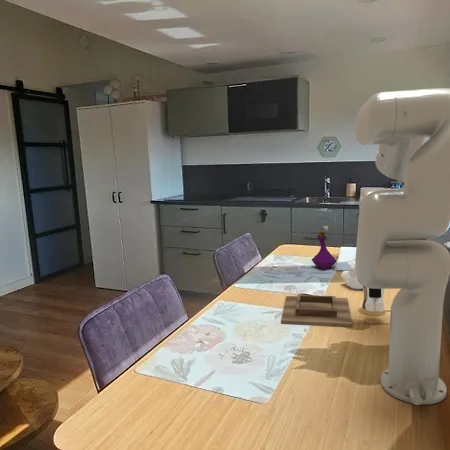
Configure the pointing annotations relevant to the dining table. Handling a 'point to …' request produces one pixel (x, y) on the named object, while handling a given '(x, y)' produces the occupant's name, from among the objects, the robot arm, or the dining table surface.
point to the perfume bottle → (323, 253)
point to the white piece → (372, 301)
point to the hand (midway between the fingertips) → (373, 292)
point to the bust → (351, 277)
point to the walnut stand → (316, 311)
